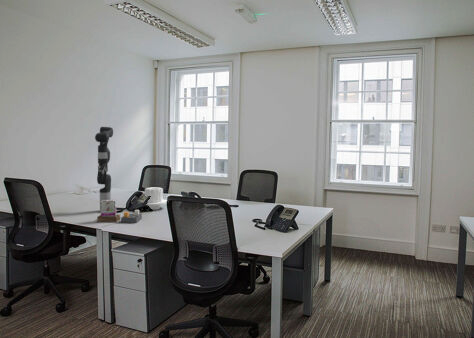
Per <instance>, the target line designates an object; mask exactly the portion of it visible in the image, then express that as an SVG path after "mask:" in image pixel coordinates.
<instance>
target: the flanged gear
mask: <svg viewBox="0 0 474 338" xmlns="http://www.w3.org/2000/svg"><path fill="white" fill-rule="evenodd" d="M145 196H146V197H147V196H151V197H150V199H149V200H148V203H147V204H146V205H145V206H149V207H150V208H151V209H152V210H160V207H161V205H165V204H167V203H166V201H167V200H168V199H164V188H162V187H159V186H158V187H156V186H155V187H154V186H153V187H146V188H144V197H145ZM152 210H151V211H152Z"/></svg>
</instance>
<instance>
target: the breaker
mask: <svg viewBox="0 0 474 338" xmlns="http://www.w3.org/2000/svg"><path fill="white" fill-rule="evenodd" d="M133 214H135V215H139V214H140V210H139V209H135V210H134V213H133Z"/></svg>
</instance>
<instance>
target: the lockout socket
mask: <svg viewBox="0 0 474 338" xmlns="http://www.w3.org/2000/svg"><path fill="white" fill-rule="evenodd" d="M96 218H97V221H96V222H97V223H117V222H119V221H120V220H121V214H116V217H101V214H100V215H98V216H96Z"/></svg>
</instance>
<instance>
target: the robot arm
mask: <svg viewBox="0 0 474 338" xmlns="http://www.w3.org/2000/svg"><path fill="white" fill-rule="evenodd" d="M113 129H114V128H112V127H110V126H101V127H100V128H99V132H97V133H96V134H95V136H94V140H95V142H97V143H99V145H98V146H97V164H98V166H97V169H98V170H97V178H96V181H97V184H98V185H104V187H101V188H99V212H100V213H101V201H102V200H112V199H111V195H112V193H111V189H112V177H111V175H110V174H108V171H109V170H108V163H109V162H110V160H111V152H110V149H109V147H108V143H109V141H110V138H112V137H113V135H114V130H113Z"/></svg>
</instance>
